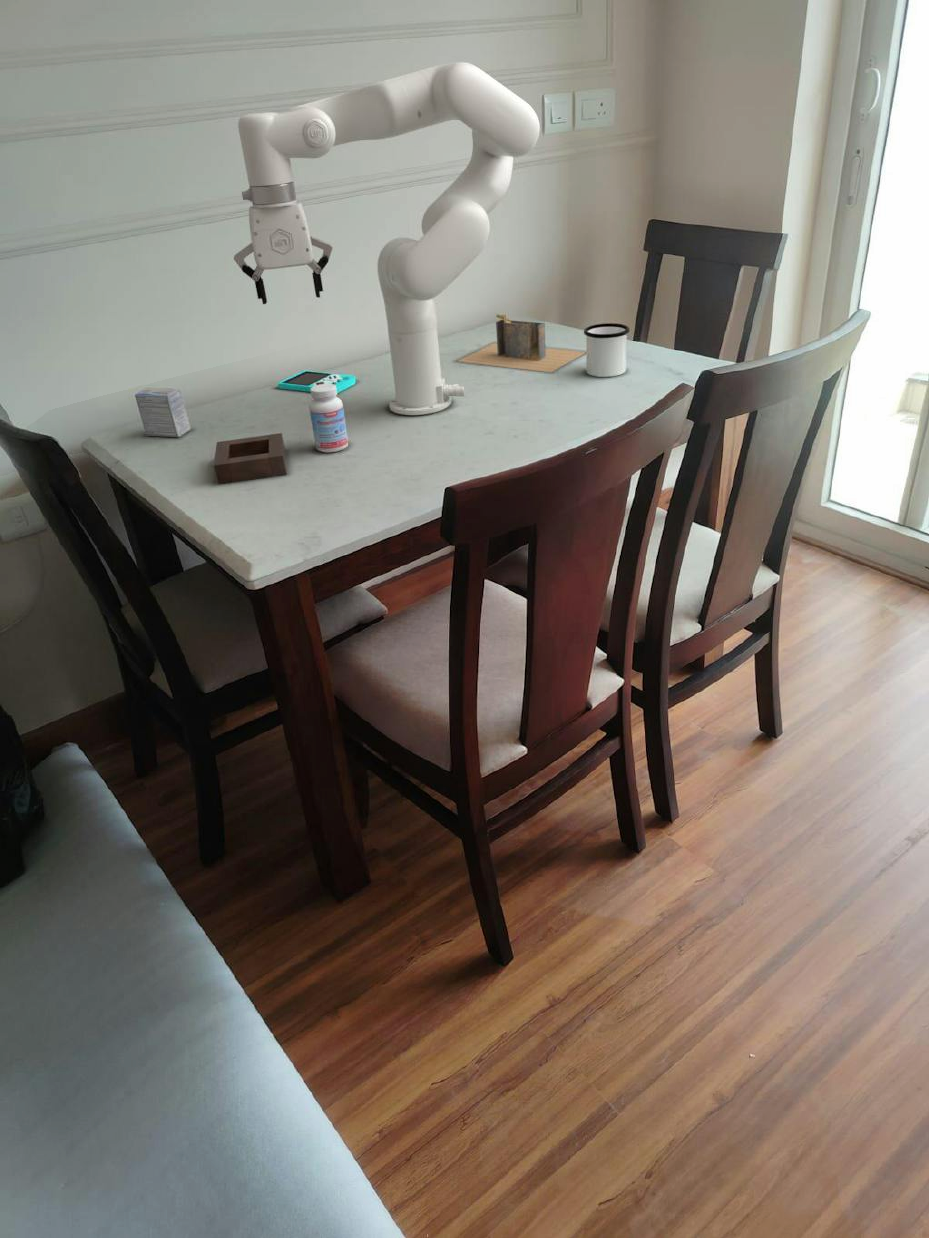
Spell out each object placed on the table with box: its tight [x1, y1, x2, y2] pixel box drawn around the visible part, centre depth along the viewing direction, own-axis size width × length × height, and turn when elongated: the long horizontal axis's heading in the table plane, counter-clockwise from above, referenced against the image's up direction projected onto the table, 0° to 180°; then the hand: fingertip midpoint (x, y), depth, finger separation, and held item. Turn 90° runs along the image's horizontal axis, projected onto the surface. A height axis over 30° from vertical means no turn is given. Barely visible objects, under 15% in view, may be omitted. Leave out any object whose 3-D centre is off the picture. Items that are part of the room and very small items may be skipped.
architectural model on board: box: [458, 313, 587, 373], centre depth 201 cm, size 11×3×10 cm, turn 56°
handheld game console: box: [277, 370, 357, 394], centre depth 197 cm, size 10×16×1 cm, turn 60°
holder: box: [213, 432, 288, 485], centre depth 157 cm, size 12×12×4 cm
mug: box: [583, 322, 630, 378], centre depth 187 cm, size 12×10×9 cm
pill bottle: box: [308, 384, 349, 453], centre depth 160 cm, size 6×6×11 cm
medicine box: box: [134, 387, 192, 438], centre depth 175 cm, size 8×4×9 cm, turn 71°
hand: (291, 299), depth 160 cm, fingers open, 9 cm apart
